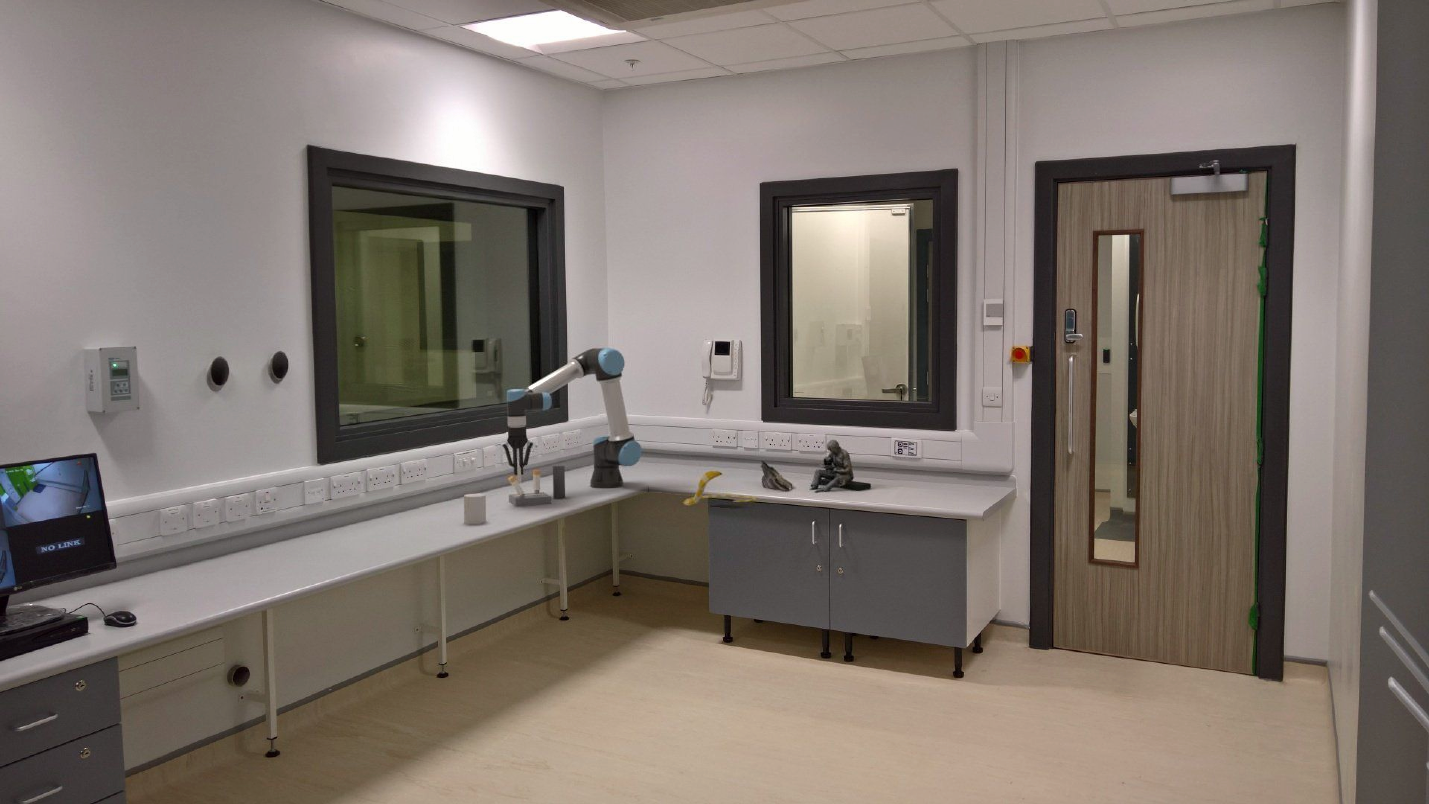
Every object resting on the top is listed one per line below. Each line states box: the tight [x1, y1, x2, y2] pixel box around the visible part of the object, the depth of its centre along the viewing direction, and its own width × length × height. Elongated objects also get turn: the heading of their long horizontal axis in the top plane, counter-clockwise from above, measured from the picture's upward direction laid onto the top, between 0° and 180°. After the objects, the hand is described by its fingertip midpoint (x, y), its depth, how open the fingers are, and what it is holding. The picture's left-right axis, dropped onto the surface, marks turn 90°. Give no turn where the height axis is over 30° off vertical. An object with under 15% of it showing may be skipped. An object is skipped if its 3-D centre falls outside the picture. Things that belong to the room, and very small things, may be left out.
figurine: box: [809, 439, 872, 494], centre depth 443 cm, size 25×24×24 cm
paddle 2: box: [532, 469, 541, 493], centre depth 429 cm, size 2×4×10 cm, turn 23°
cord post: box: [552, 465, 566, 500], centre depth 434 cm, size 5×5×14 cm
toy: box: [682, 470, 758, 507], centre depth 418 cm, size 29×28×15 cm
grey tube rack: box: [508, 491, 552, 507], centre depth 424 cm, size 15×13×3 cm
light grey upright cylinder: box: [463, 493, 487, 525], centre depth 387 cm, size 8×8×12 cm
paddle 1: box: [507, 475, 526, 498], centre depth 418 cm, size 2×4×10 cm
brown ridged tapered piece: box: [760, 460, 793, 492], centre depth 454 cm, size 22×9×28 cm
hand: (518, 482), depth 418 cm, fingers closed
